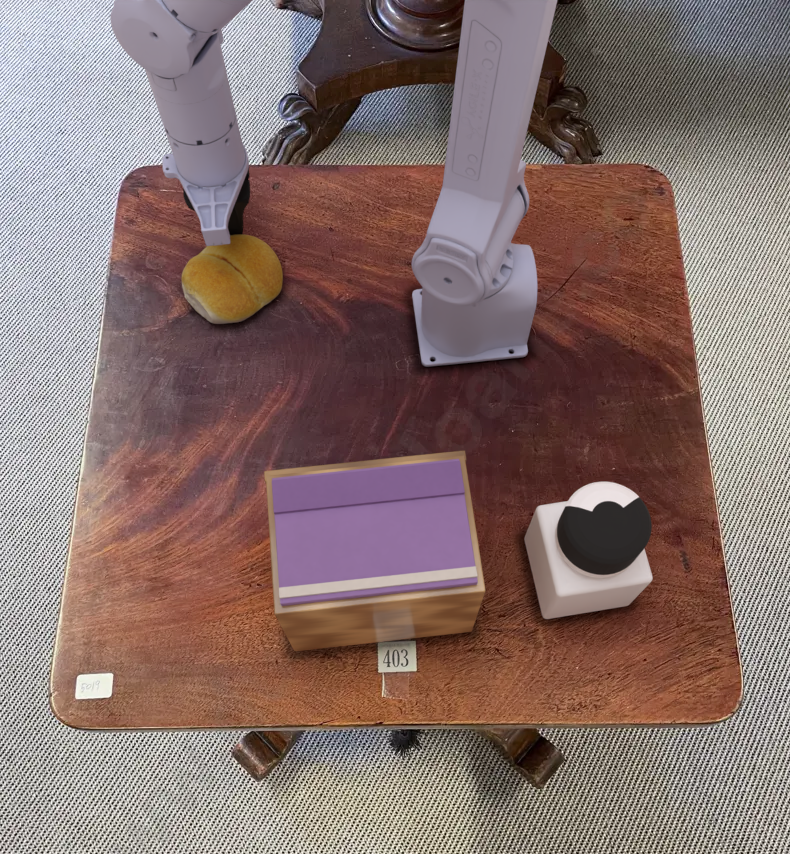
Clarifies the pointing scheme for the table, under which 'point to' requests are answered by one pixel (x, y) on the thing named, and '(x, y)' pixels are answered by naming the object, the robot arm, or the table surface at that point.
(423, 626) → the crate
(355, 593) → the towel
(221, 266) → the bread roll
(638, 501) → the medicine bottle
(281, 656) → the table surface
